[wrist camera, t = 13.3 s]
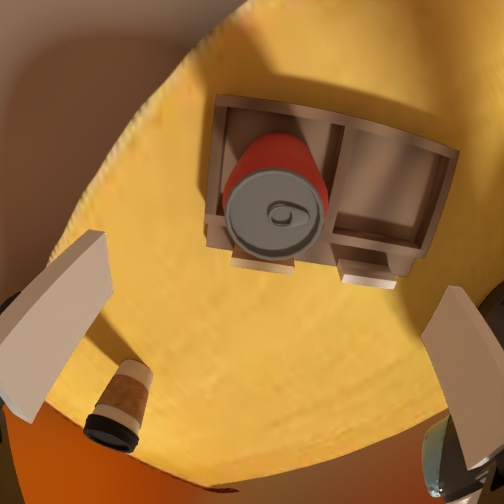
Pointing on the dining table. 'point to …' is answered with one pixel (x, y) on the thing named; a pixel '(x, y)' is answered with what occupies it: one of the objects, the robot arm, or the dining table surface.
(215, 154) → the brown desk organizer
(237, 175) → the beer can
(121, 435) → the coffee cup
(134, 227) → the dining table surface
